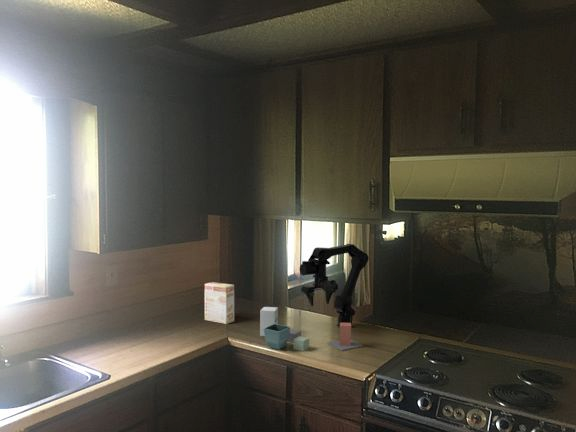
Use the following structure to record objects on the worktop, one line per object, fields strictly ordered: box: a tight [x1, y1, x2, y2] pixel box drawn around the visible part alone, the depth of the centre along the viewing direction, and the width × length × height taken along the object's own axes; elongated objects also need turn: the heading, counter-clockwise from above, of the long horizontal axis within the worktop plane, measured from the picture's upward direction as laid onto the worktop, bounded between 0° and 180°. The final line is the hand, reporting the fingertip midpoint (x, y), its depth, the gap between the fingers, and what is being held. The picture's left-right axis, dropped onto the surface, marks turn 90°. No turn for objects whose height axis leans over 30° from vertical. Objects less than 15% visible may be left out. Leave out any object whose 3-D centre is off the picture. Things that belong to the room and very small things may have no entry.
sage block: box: [292, 336, 310, 352], centre depth 220 cm, size 5×5×4 cm
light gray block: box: [287, 329, 302, 344], centre depth 230 cm, size 5×5×4 cm
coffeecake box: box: [204, 281, 235, 325], centre depth 262 cm, size 15×7×20 cm, turn 58°
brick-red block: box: [339, 323, 352, 346], centre depth 224 cm, size 5×5×9 cm
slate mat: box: [326, 339, 364, 352], centre depth 225 cm, size 12×11×1 cm
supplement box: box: [259, 306, 279, 337], centre depth 239 cm, size 7×7×13 cm
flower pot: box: [264, 323, 291, 350], centre depth 221 cm, size 9×9×9 cm
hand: (319, 305), depth 244 cm, fingers open, 9 cm apart
